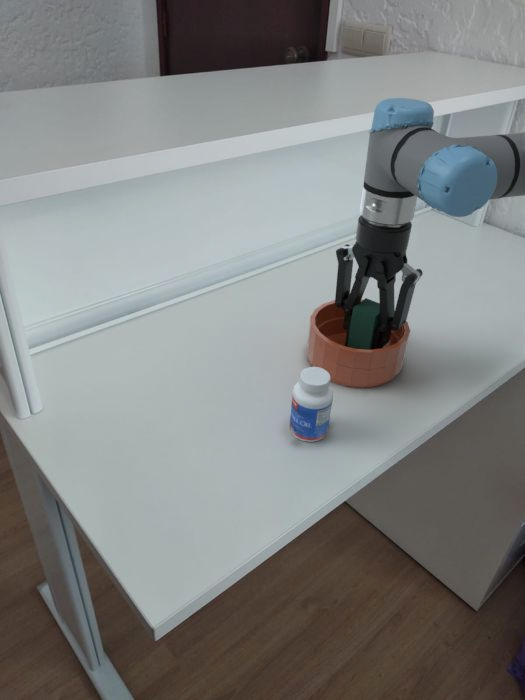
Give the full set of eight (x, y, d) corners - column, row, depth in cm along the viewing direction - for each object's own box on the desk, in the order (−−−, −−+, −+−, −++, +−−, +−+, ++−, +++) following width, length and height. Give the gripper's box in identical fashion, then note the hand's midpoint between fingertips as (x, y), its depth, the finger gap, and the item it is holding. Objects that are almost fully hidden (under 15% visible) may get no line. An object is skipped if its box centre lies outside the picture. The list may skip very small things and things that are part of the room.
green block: (379, 353, 96) (388, 306, 90) (367, 364, 93) (375, 316, 88) (358, 344, 97) (365, 297, 92) (345, 354, 95) (352, 307, 90)
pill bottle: (281, 427, 81) (285, 372, 76) (308, 411, 84) (314, 357, 79) (308, 449, 78) (315, 393, 73) (335, 431, 81) (344, 377, 76)
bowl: (418, 357, 97) (426, 321, 93) (371, 402, 87) (378, 365, 83) (339, 323, 104) (344, 289, 100) (287, 361, 94) (290, 325, 90)
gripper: (320, 209, 83) (307, 342, 97) (429, 244, 75) (398, 385, 88) (348, 195, 88) (331, 324, 102) (453, 227, 80) (420, 363, 93)
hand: (362, 352), depth 95 cm, fingers closed on green block, 4 cm apart
